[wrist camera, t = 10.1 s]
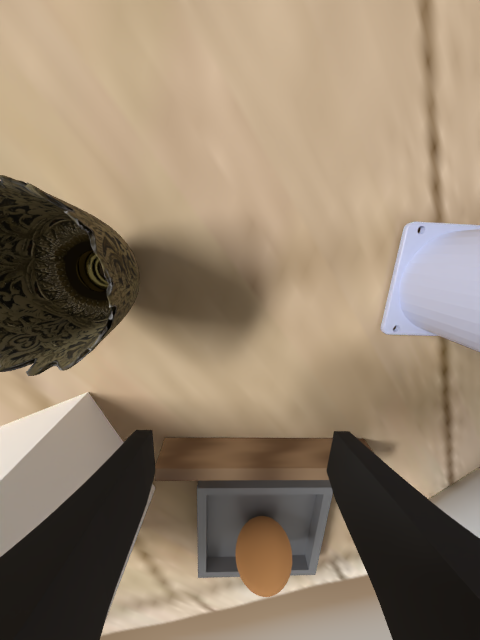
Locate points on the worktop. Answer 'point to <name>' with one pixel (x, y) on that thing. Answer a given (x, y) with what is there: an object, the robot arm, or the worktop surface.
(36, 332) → the cup
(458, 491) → the tube
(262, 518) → the egg
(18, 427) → the milk
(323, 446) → the fence
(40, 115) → the worktop surface
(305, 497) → the tray
